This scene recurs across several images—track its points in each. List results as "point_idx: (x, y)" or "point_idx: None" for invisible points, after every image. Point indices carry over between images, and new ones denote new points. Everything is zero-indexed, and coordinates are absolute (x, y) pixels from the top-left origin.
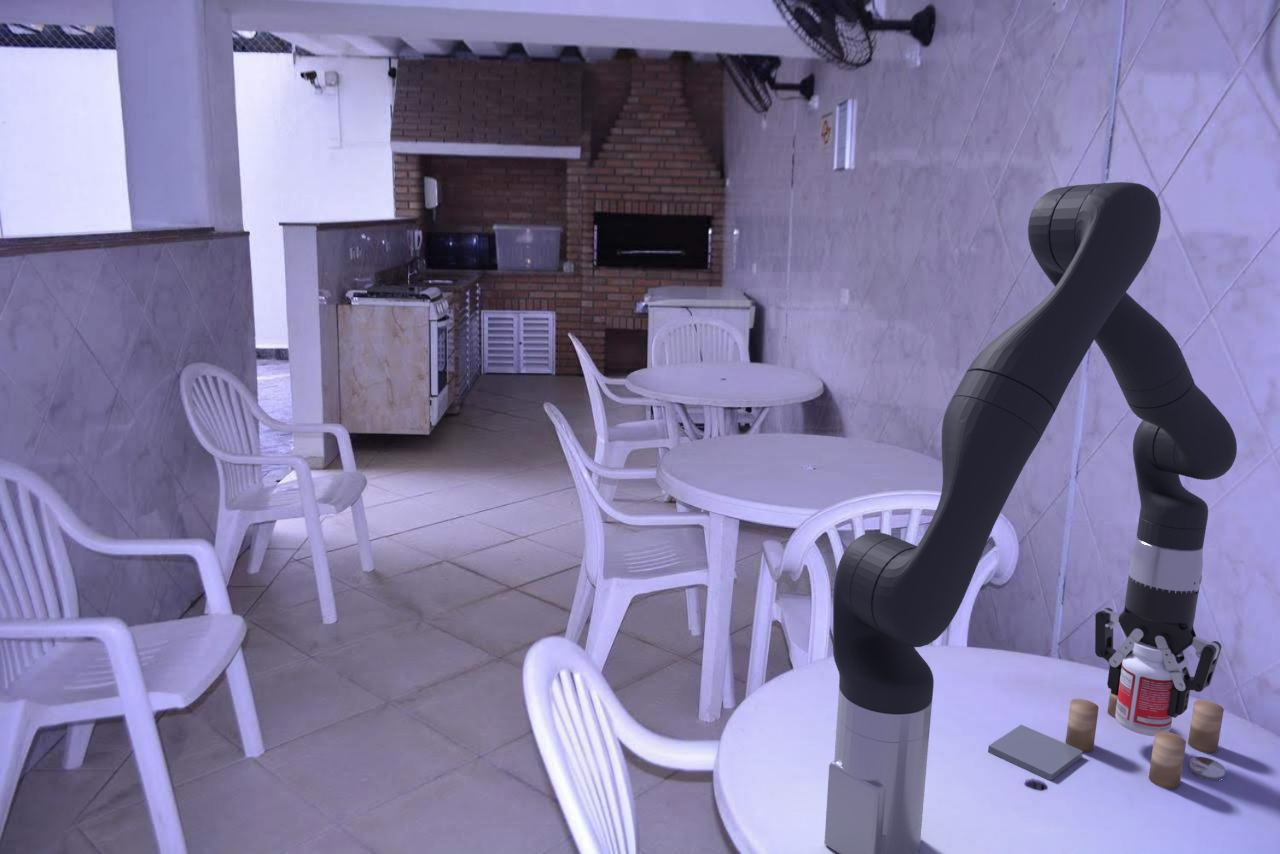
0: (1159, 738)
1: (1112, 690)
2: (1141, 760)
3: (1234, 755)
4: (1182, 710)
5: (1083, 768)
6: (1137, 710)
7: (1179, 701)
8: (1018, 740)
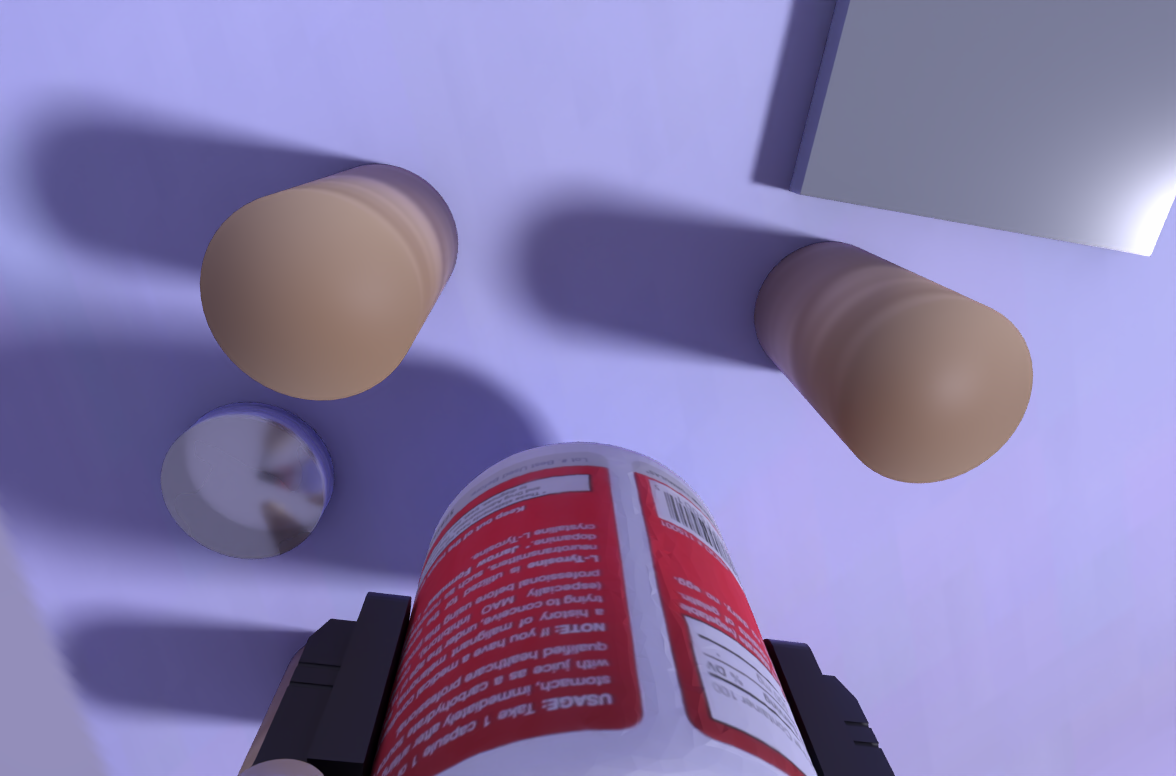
0: (371, 249)
1: (803, 656)
2: (529, 372)
3: (217, 694)
4: (307, 644)
5: (760, 65)
6: (596, 512)
7: (322, 696)
8: (1152, 47)
